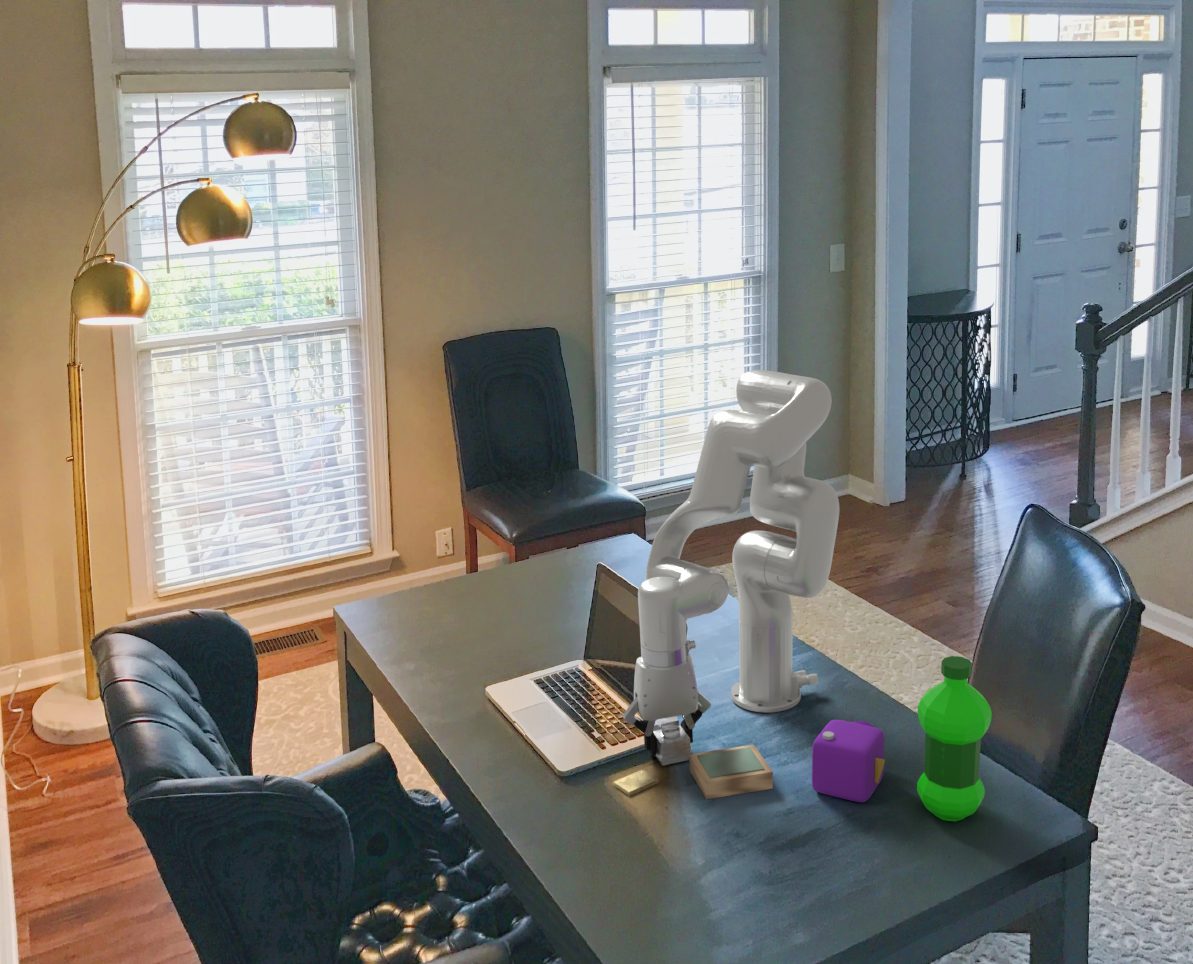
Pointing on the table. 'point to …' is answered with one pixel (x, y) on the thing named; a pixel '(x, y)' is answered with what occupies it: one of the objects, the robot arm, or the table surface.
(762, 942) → the table surface
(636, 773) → the cover plate
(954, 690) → the plastic bottle
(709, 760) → the picture frame
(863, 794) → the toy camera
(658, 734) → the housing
